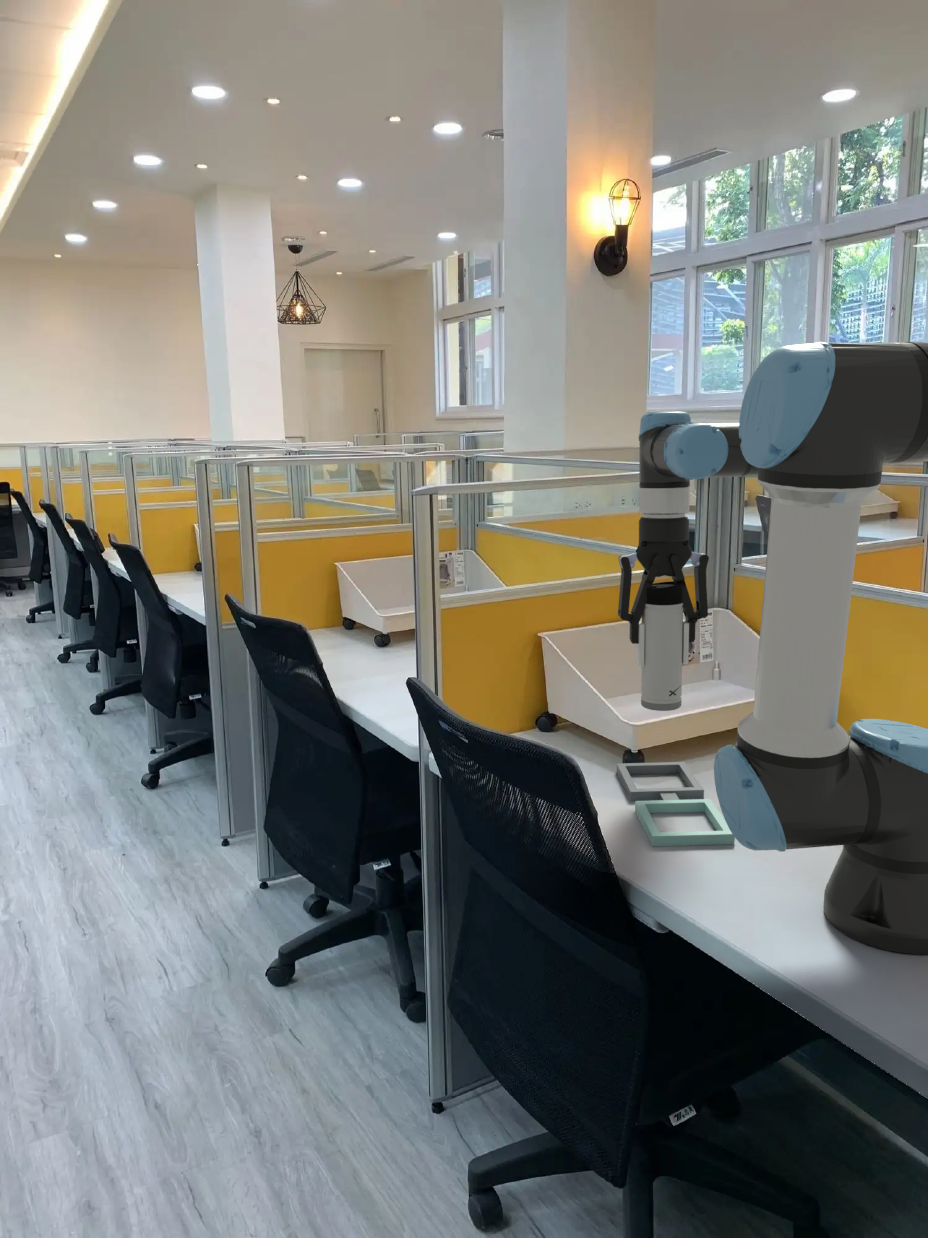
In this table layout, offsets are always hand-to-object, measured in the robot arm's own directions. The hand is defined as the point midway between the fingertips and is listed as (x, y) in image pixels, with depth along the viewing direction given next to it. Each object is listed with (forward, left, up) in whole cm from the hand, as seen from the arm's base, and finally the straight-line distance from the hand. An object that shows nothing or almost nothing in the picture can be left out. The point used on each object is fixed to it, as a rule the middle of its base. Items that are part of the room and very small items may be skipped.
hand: (661, 662), depth 145 cm
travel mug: (0, 0, -7) cm, 7 cm away
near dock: (-16, 0, -21) cm, 26 cm away
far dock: (-1, 0, -21) cm, 21 cm away
